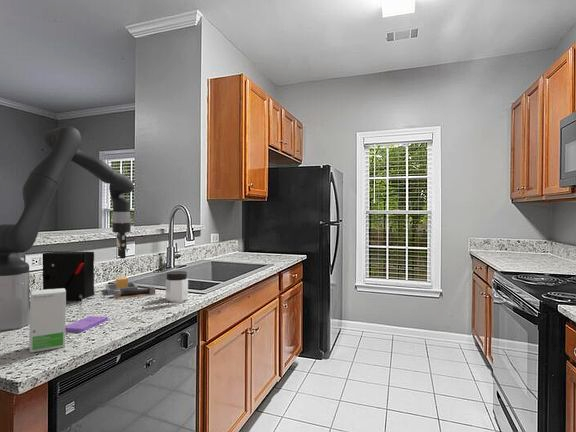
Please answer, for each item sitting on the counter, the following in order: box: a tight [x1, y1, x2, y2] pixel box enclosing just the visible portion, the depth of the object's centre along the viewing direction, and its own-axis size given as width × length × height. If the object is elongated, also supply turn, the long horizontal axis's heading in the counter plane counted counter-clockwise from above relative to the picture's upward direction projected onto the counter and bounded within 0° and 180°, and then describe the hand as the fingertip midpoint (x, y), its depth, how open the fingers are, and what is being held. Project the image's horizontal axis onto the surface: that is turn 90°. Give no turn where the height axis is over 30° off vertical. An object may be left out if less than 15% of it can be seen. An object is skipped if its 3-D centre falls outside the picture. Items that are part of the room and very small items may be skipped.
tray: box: [105, 281, 139, 296], centre depth 161 cm, size 12×12×3 cm
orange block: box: [115, 276, 129, 289], centre depth 161 cm, size 6×4×6 cm
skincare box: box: [28, 288, 67, 354], centre depth 98 cm, size 8×7×16 cm
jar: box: [165, 270, 189, 305], centre depth 147 cm, size 9×8×12 cm
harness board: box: [112, 285, 157, 300], centre depth 153 cm, size 16×10×4 cm, turn 122°
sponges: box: [65, 315, 109, 333], centre depth 116 cm, size 7×13×2 cm, turn 171°
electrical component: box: [42, 250, 96, 302], centre depth 150 cm, size 18×10×20 cm, turn 84°
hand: (121, 257), depth 161 cm, fingers open, 8 cm apart
